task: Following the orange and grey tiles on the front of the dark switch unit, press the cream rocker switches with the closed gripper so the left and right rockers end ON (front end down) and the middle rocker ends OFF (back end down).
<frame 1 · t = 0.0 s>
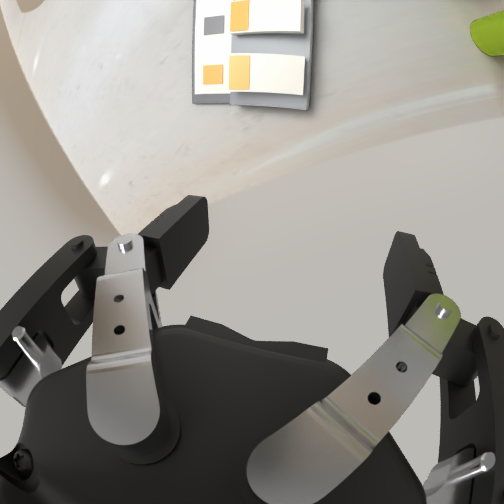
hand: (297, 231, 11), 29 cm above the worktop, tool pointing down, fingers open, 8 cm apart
soap dispenser: (484, 39, 17), on the worktop
rocker middle: (265, 14, 23), point 6 cm above the worktop, hinge at 10.0°
switch unit: (251, 24, 28), on the worktop
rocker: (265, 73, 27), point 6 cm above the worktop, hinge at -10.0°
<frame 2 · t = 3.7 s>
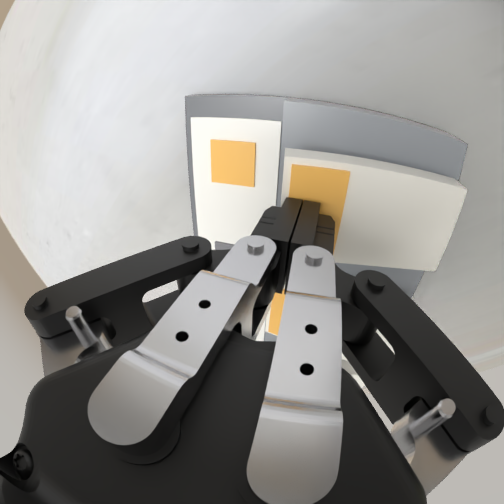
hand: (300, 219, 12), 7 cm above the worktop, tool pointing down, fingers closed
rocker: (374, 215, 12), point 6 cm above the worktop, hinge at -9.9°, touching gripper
rocker middle: (334, 324, 17), point 6 cm above the worktop, hinge at 10.0°
switch unit: (298, 263, 22), on the worktop
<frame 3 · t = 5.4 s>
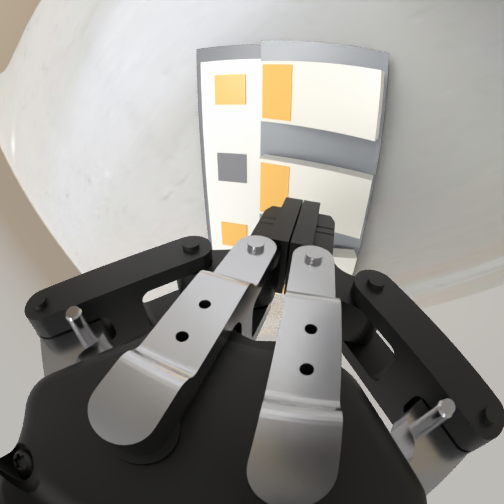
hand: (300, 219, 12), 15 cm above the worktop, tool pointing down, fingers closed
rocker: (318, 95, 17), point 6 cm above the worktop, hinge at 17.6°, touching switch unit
rocker middle: (312, 194, 21), point 6 cm above the worktop, hinge at 10.0°
switch unit: (283, 168, 26), on the worktop
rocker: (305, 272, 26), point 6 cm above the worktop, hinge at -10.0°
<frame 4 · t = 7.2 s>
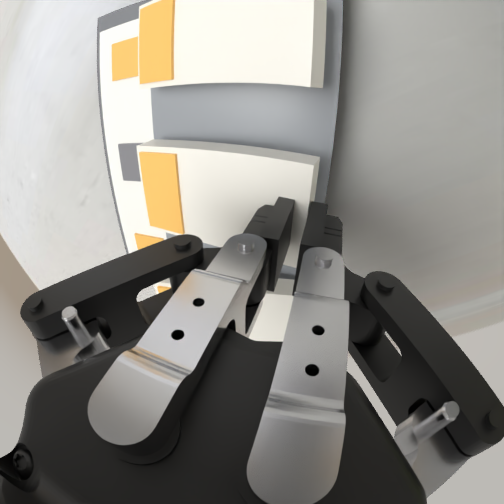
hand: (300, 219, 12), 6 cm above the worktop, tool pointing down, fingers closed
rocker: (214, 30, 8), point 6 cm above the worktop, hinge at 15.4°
rocker middle: (217, 196, 13), point 6 cm above the worktop, hinge at 6.9°, touching gripper
switch unit: (203, 159, 18), on the worktop
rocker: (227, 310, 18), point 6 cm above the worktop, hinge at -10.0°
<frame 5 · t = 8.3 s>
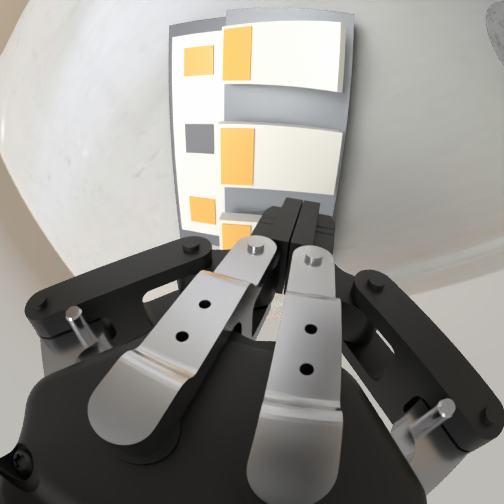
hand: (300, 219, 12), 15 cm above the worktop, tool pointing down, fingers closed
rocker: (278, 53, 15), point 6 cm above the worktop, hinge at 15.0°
rocker middle: (278, 156, 20), point 6 cm above the worktop, hinge at -11.5°
switch unit: (252, 138, 25), on the worktop
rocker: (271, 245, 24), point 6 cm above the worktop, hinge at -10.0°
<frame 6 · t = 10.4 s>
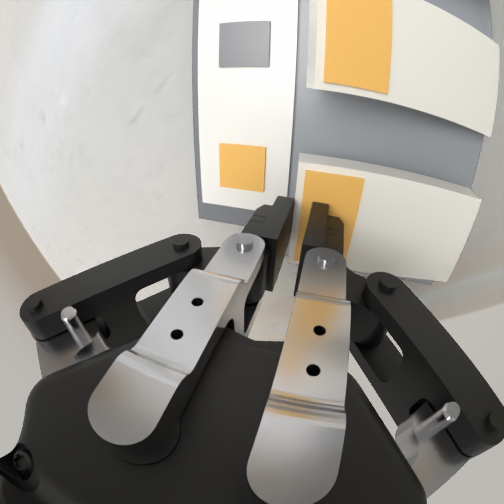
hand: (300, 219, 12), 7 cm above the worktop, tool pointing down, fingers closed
rocker middle: (420, 54, 7), point 6 cm above the worktop, hinge at -17.5°, touching switch unit
switch unit: (333, 51, 12), on the worktop
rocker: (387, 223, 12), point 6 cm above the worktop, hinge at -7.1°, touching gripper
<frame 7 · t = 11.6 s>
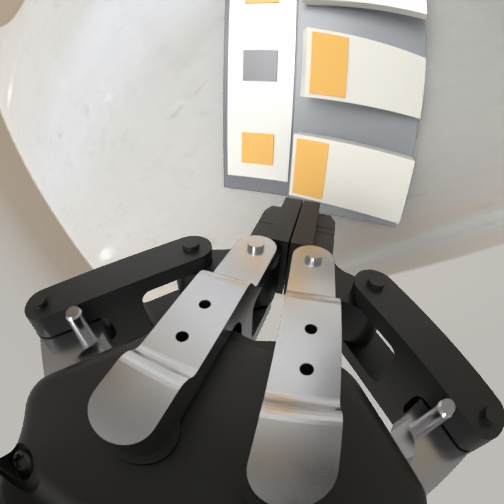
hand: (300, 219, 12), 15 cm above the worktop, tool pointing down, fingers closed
rocker middle: (367, 72, 14), point 6 cm above the worktop, hinge at -17.1°, touching switch unit
switch unit: (318, 70, 20), on the worktop
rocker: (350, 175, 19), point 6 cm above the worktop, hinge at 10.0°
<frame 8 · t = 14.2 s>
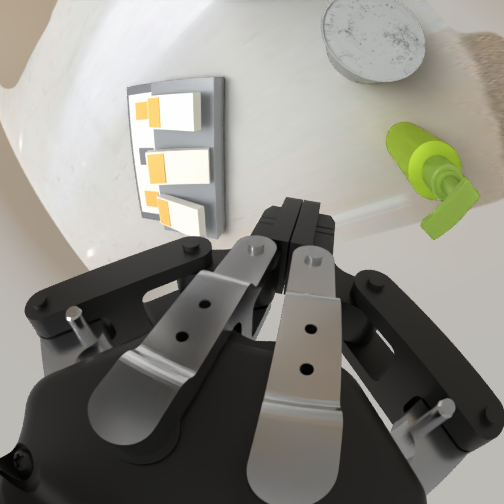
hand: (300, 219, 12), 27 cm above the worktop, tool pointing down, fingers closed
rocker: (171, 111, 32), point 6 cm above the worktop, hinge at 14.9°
soap dispenser: (403, 145, 31), on the worktop
grey concrete cylinder: (362, 50, 25), on the worktop
rocker middle: (177, 166, 36), point 6 cm above the worktop, hinge at -17.0°, touching switch unit
switch unit: (175, 154, 42), on the worktop
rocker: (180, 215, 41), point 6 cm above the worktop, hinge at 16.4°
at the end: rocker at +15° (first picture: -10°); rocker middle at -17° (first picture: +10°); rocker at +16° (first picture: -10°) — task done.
